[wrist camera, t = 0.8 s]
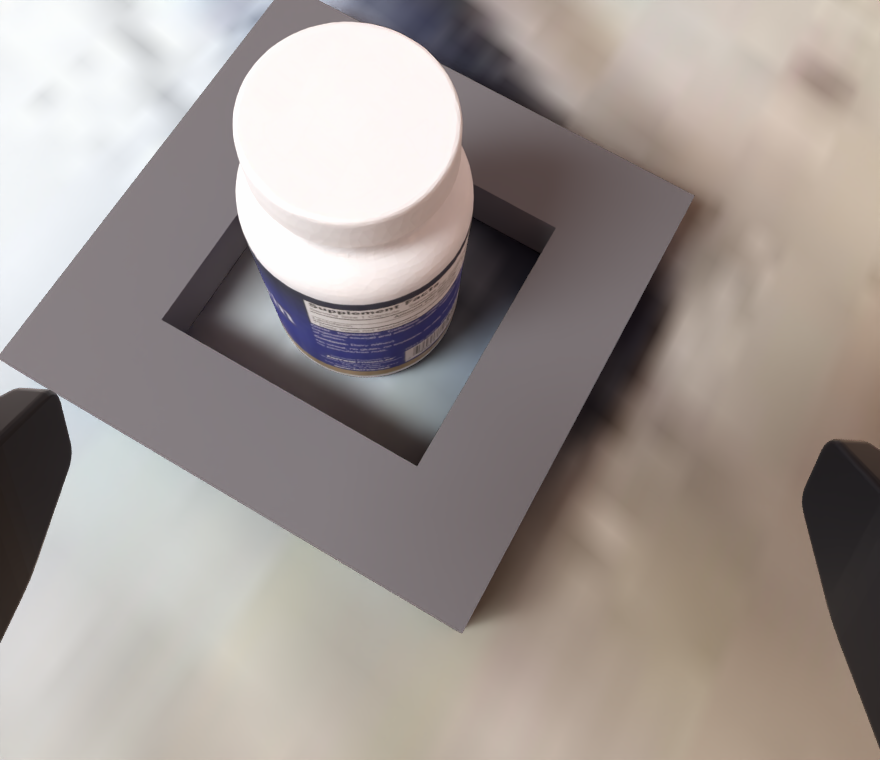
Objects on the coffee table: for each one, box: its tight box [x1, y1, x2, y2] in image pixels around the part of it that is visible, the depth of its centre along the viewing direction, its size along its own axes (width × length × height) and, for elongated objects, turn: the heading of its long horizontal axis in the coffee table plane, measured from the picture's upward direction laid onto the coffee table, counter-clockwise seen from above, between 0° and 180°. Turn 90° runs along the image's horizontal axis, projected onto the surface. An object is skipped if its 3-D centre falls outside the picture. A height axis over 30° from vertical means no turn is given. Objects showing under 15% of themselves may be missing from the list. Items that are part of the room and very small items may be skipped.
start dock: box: [0, 0, 695, 633], centre depth 25 cm, size 15×15×2 cm
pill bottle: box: [233, 22, 474, 377], centre depth 21 cm, size 6×6×10 cm
